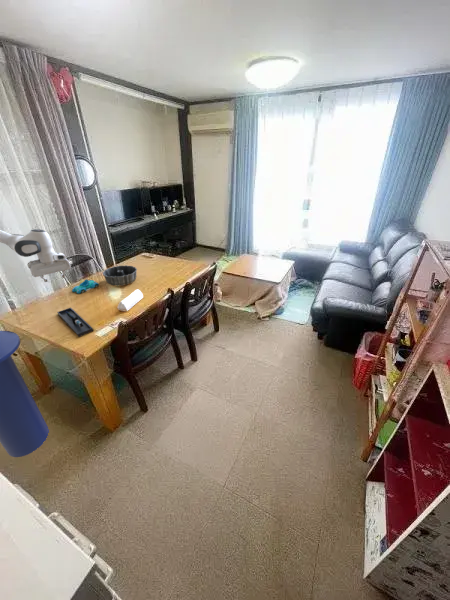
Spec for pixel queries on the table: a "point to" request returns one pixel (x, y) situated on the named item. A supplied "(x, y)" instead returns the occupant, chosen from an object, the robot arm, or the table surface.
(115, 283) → the bundt pan
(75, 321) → the knife
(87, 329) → the knife tray
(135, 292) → the white triangular prism
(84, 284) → the toy car
